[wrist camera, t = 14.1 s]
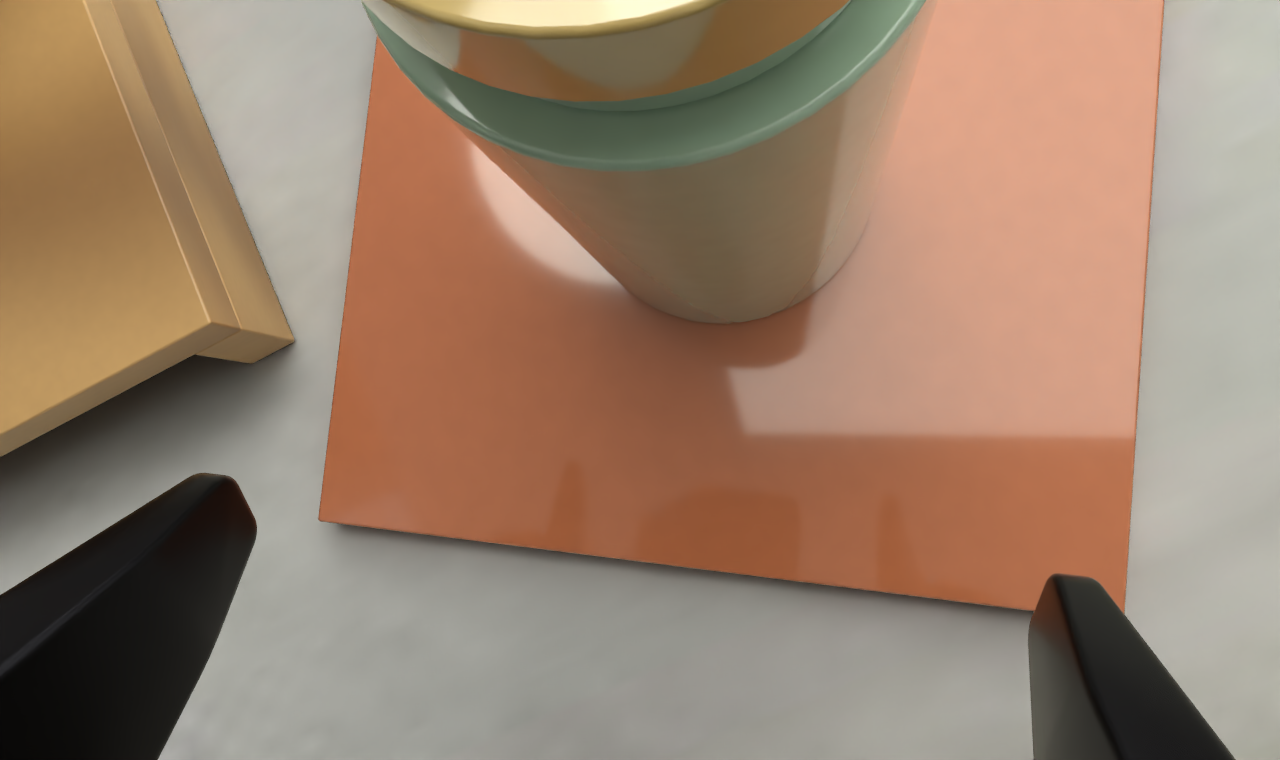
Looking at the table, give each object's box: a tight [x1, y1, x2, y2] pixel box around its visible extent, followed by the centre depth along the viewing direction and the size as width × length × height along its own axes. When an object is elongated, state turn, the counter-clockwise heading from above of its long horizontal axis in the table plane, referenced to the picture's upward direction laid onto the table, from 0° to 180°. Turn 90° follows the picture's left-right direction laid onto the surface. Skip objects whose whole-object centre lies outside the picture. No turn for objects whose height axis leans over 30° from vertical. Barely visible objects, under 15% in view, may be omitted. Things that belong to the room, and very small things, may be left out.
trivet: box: [318, 0, 1164, 613], centre depth 18 cm, size 16×16×1 cm
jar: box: [361, 0, 938, 324], centre depth 12 cm, size 6×6×12 cm
